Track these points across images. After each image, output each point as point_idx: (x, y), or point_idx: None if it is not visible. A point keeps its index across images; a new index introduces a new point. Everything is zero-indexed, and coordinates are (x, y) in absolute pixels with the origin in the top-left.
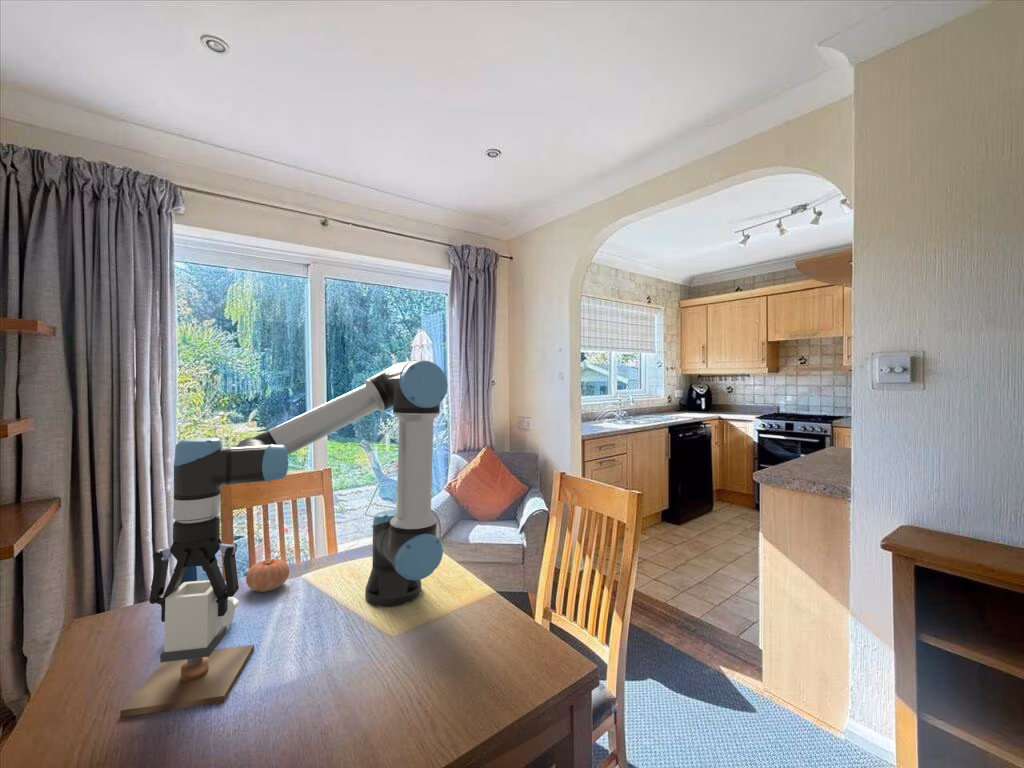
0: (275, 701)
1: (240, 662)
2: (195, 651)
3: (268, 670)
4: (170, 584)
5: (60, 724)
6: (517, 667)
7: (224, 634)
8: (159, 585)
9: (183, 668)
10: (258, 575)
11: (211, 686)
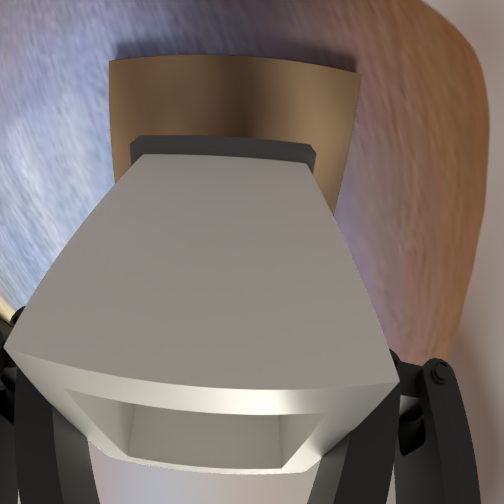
0: (20, 61)
1: None
2: (181, 141)
3: (64, 168)
4: (374, 491)
5: (453, 110)
6: None
7: None
8: (437, 469)
9: None
10: None
11: (155, 104)
